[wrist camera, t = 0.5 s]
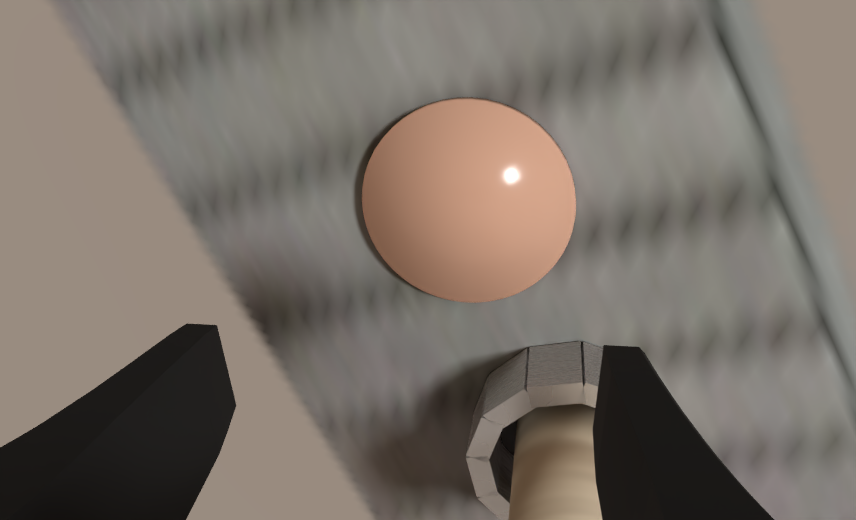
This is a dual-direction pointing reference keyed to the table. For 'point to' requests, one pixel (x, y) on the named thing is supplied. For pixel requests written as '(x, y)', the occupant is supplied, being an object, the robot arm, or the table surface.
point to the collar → (524, 408)
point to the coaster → (469, 200)
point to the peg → (555, 465)
